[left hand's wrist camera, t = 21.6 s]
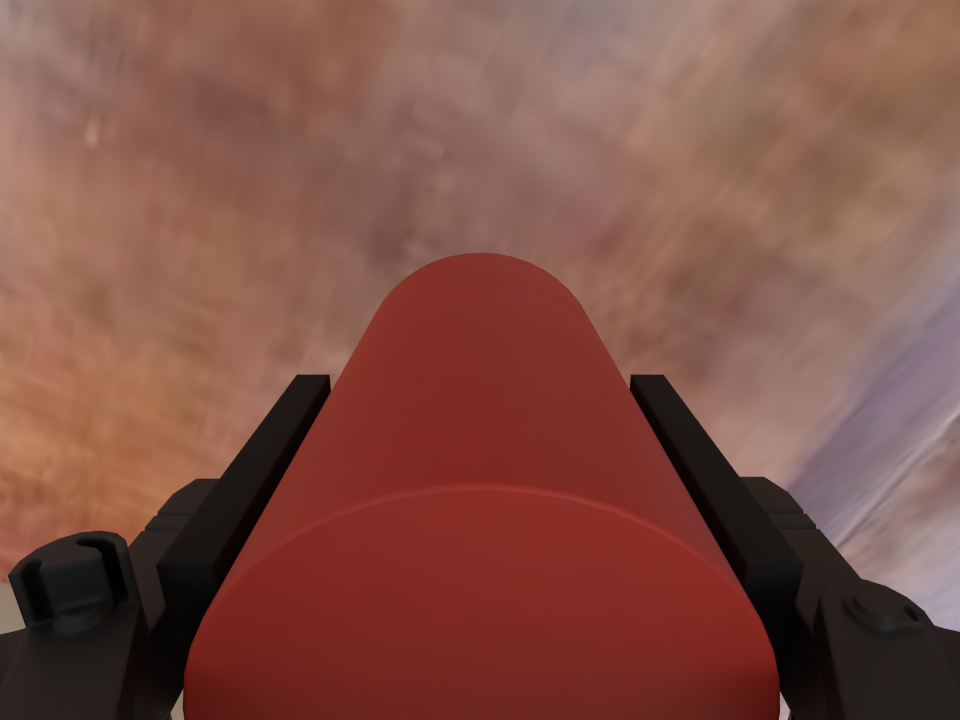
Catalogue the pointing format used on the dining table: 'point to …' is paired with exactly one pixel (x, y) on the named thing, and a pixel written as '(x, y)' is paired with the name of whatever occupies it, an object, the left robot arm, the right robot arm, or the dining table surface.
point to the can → (481, 537)
